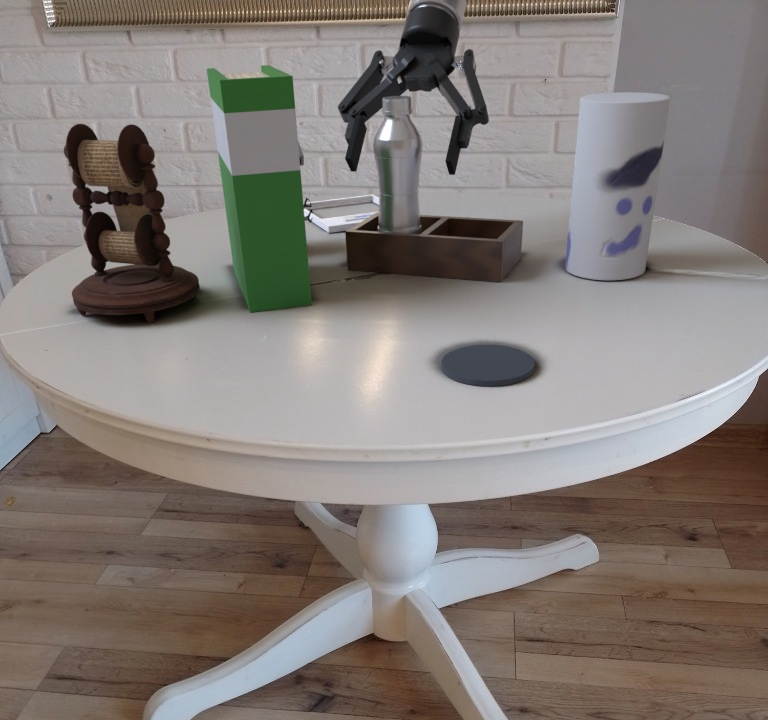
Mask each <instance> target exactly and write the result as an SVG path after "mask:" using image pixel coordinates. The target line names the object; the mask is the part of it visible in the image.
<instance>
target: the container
mask: <svg viewBox="0 0 768 720" xmlns="http://www.w3.org/2000/svg"><path fill="white" fill-rule="evenodd" d="M670 104H671V97H670V96H669V95H667V94H662V93H656V92H655V93H653V92H641V91H640V92H639V91H638V92H635V91H633V92H632V91H631V92H630V91H627V92H624V91H623V92H621V91H620V92H601V93H592V94H586V95H584V96H581V97H580V99H579V111H578V120H577V121H578V122H577V133H576V142H575V143H576V144H575V152H574V153H575V154H574V155H575V156H574V165H573V174H572V175H573V177H572V186H571V187H572V189H571V199H570V208H569V221H568V232H567V242H566V255H565V265H564V269H565V271H567V272H568V273H569V274H570V275H573V276H575V277H579V278H582V279H587V280H594V281H595V280H596V281H624V280H630V279H634V278H637V277H640V276H642V275H643V274H644V273H645V272H646V266H647V260H648V252H649V247H650V241H651V240H650V239H651V234H652V233H651V232H652V227H653V226H652V225H653V219H654V212H655V206H656V199H657V191H658V184H659V178H660V177H659V176H660V172H661V165H662V159H663V158H662V157H663V151H664V143H665V138H666V131H667V124H668V116H669V110H670Z"/></svg>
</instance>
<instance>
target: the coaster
mask: <svg viewBox="0 0 768 720" xmlns="http://www.w3.org/2000/svg"><path fill="white" fill-rule="evenodd" d="M440 365H441V367H440V369H441V372H442V373H443V374H444V375H445V376H446V377H447V378H449V379H450V380H453V381H455V382H458V383H461V384H465V385H471V386H478V387H501V386H508V385H514V384H517V383H520V382H524V381H525V380H526V379H529V378H530V377H531V376H532V375H533V374H534V372H535V369H536V368H535V367H536V361H535V359H534V357H533V356H532V355H531V354H529V353H528V352H526V351H524V350H521V349H518V348H516V347H512V346H507V345H500V344H472V345H466V346H463V347H462V346H461V347H459V348H458V347H457V348H455V349H452V350H451V351H449V352H447V353H446V354H445V355H443V357H442V359H441V363H440Z"/></svg>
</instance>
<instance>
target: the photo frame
mask: <svg viewBox="0 0 768 720" xmlns="http://www.w3.org/2000/svg"><path fill="white" fill-rule="evenodd" d="M310 202H311V207H305V209H304V217H306V216H308V215H309V213H310V211H311V210H313V209H319V208H327V207H335V206H343V205H351V204H360V203H368V202H372V203H374V204H376V205H378V206H379V196H377V195H375V194H366V195H357V196H349V197H341V198H332V199H326V200H317V201H307V203H306V205H309V206H310ZM303 205H304V202H303ZM377 212H378V213H379V211H371V212H363V213H357V214H349V215H342V216H333V217H326V218H325V217H324V218H321V217H319V216H318V215H317V214H314V212H313V213H312V212H311V214H310V217H309V219H310V220H311V219H312V221H311V223H313V224H315V225H317V226H318V227H319V228H321V229H323V230H324V231H325V232H327V233H328V234H331V233H339V232H344V231H347V230H349V229H350V228H352V227H354V226H355V225H357V224H358V223H360V222H362V221H363V220H365V219H367V218H368V217H370V216H372V215H373V214H375V213H377ZM312 217H313V218H312Z"/></svg>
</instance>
